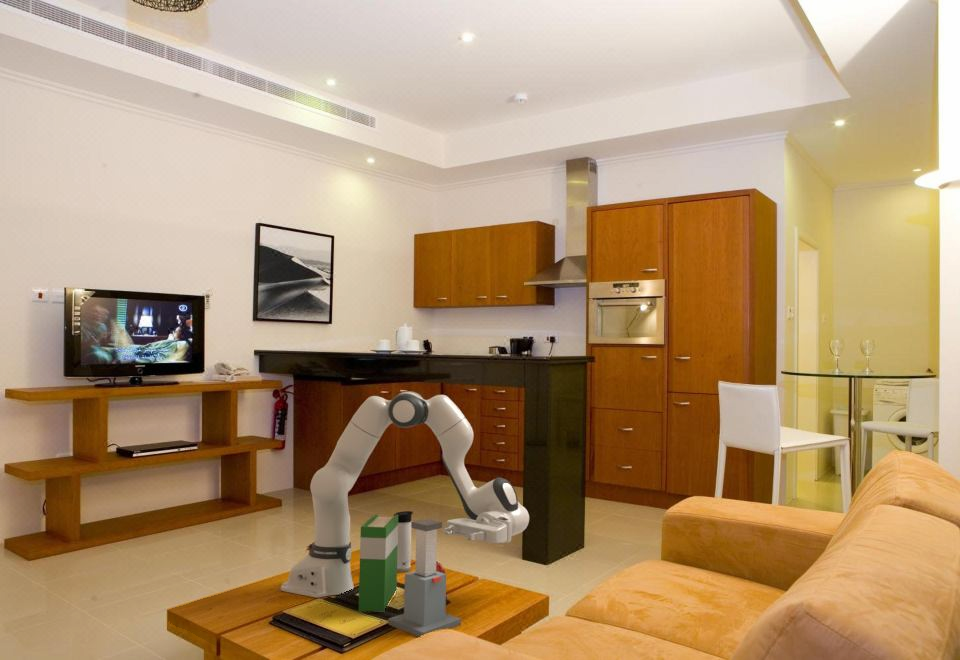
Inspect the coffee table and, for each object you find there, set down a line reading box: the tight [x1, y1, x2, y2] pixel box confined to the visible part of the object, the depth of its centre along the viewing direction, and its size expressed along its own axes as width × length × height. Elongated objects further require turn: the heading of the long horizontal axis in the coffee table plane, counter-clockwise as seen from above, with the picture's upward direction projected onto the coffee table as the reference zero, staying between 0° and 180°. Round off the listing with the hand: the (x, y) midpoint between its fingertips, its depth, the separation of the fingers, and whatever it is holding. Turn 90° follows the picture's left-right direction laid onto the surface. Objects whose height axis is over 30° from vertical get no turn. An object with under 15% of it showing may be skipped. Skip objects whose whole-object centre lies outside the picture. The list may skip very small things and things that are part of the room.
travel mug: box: [393, 510, 414, 573], centre depth 239 cm, size 6×7×20 cm
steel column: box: [411, 518, 443, 578], centre depth 188 cm, size 6×6×26 cm
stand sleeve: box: [387, 571, 462, 638], centre depth 188 cm, size 14×14×14 cm
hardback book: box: [357, 513, 398, 613], centre depth 206 cm, size 18×7×24 cm, turn 175°
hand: (457, 534), depth 198 cm, fingers open, 8 cm apart
